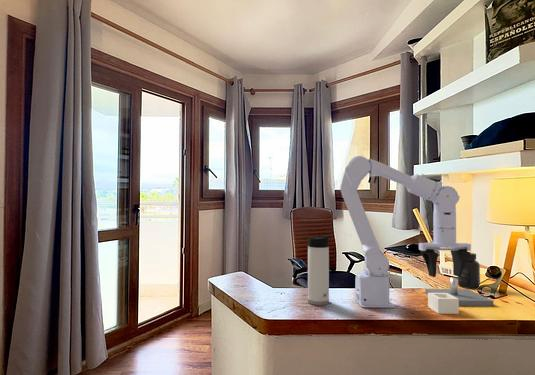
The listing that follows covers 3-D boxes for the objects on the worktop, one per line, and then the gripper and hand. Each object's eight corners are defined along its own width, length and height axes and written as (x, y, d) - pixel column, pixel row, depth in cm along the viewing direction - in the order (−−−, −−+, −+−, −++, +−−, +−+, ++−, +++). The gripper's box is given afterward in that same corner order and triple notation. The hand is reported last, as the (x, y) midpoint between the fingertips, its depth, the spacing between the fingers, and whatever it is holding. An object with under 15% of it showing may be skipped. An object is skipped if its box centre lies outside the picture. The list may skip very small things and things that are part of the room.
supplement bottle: (484, 289, 111) (484, 254, 111) (464, 289, 111) (464, 254, 111) (472, 284, 117) (471, 251, 118) (453, 284, 118) (453, 251, 118)
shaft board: (445, 305, 93) (445, 283, 93) (425, 293, 105) (425, 273, 105) (493, 305, 93) (492, 283, 93) (467, 293, 105) (467, 274, 105)
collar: (438, 313, 86) (438, 298, 87) (427, 306, 92) (427, 292, 92) (458, 313, 86) (458, 298, 87) (447, 306, 92) (447, 292, 92)
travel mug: (331, 305, 92) (331, 236, 93) (308, 305, 92) (308, 236, 93) (328, 299, 98) (328, 234, 99) (307, 298, 99) (307, 234, 99)
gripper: (429, 229, 86) (429, 279, 85) (478, 229, 87) (479, 279, 87) (414, 227, 93) (414, 273, 92) (460, 227, 94) (461, 273, 94)
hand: (444, 276), depth 90 cm, fingers open, 7 cm apart
